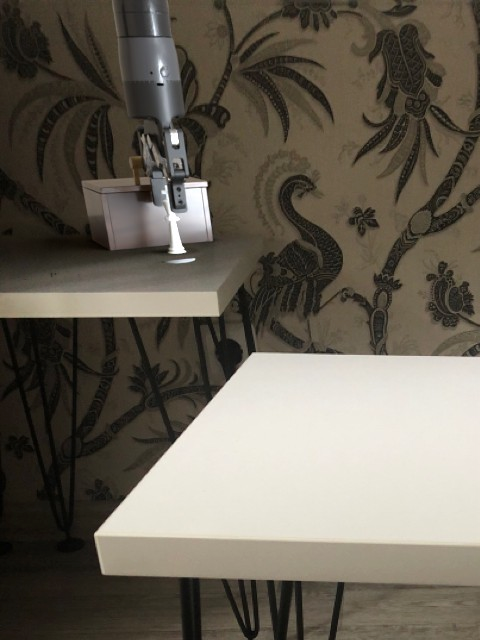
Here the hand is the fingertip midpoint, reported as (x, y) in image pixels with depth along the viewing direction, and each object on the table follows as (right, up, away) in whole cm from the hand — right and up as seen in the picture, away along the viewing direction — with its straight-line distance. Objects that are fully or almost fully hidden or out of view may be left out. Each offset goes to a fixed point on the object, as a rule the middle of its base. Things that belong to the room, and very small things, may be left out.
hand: (170, 209), depth 129 cm
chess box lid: (-6, +7, +8) cm, 13 cm away
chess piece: (0, -6, +4) cm, 7 cm away
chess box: (-7, 0, +13) cm, 15 cm away
